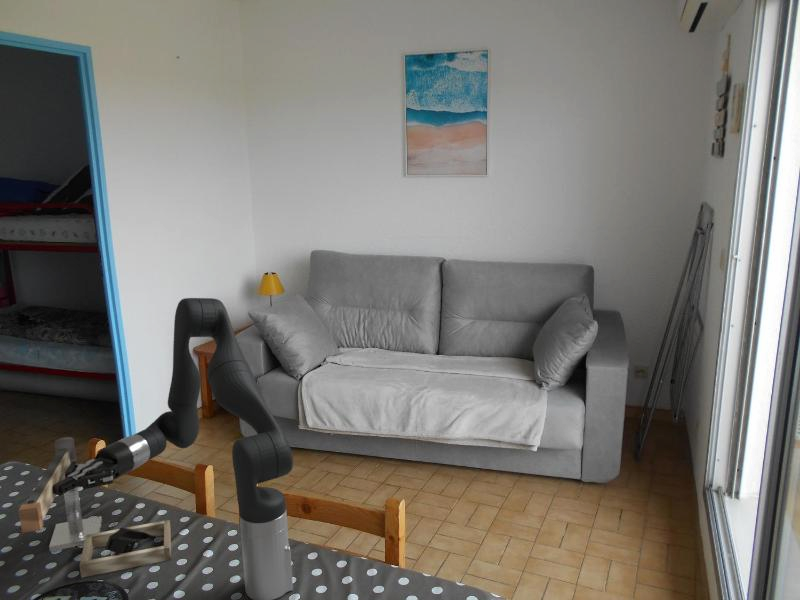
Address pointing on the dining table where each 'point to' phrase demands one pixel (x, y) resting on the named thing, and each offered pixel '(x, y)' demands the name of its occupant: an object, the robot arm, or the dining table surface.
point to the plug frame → (126, 559)
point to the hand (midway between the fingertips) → (55, 490)
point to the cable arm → (47, 486)
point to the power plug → (125, 540)
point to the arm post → (73, 525)
